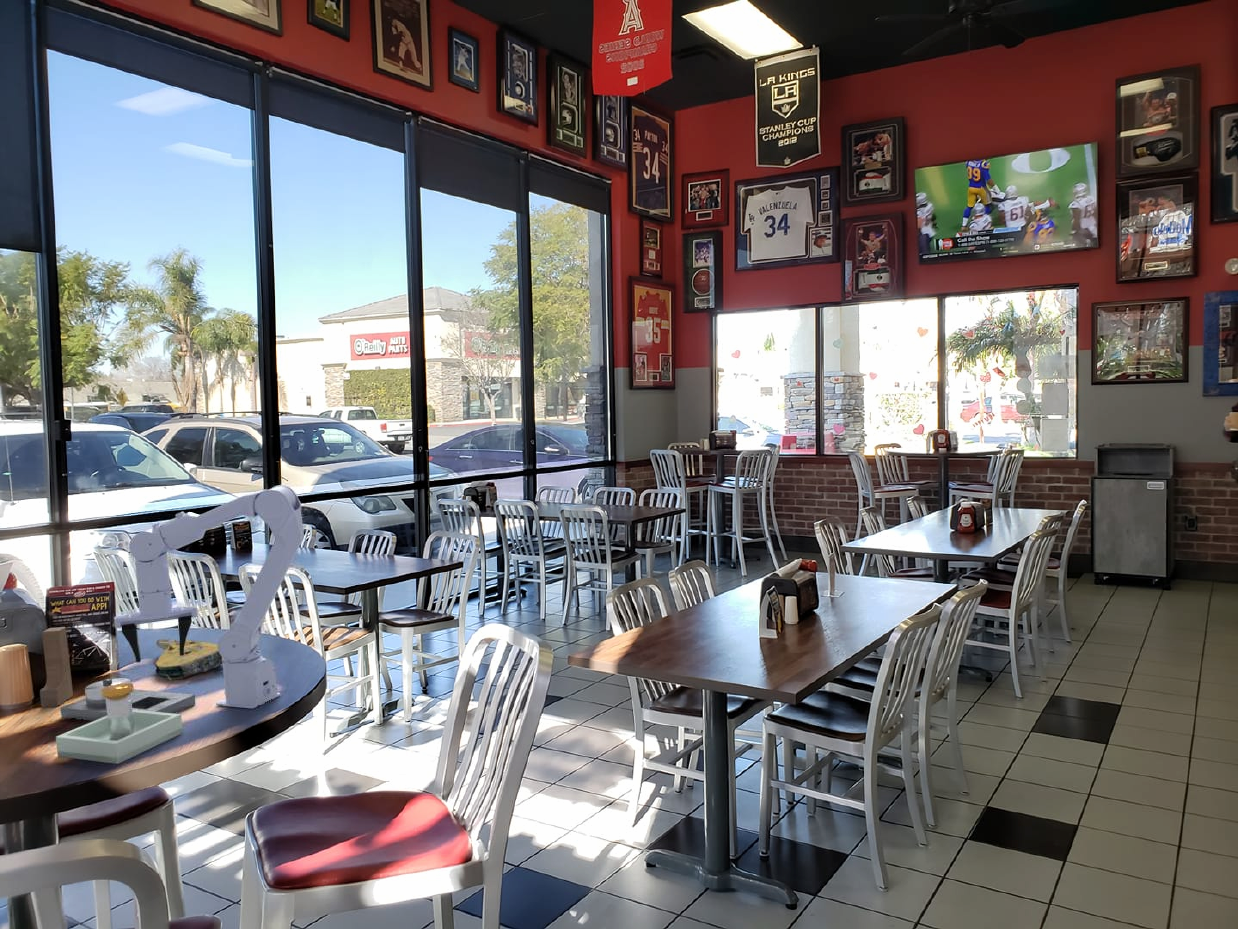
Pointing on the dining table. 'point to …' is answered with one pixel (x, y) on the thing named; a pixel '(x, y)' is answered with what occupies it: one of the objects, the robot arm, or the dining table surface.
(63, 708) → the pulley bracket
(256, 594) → the robot arm
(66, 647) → the wooden block
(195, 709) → the dining table surface
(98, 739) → the tray
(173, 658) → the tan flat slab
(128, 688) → the pin
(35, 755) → the dining table surface
